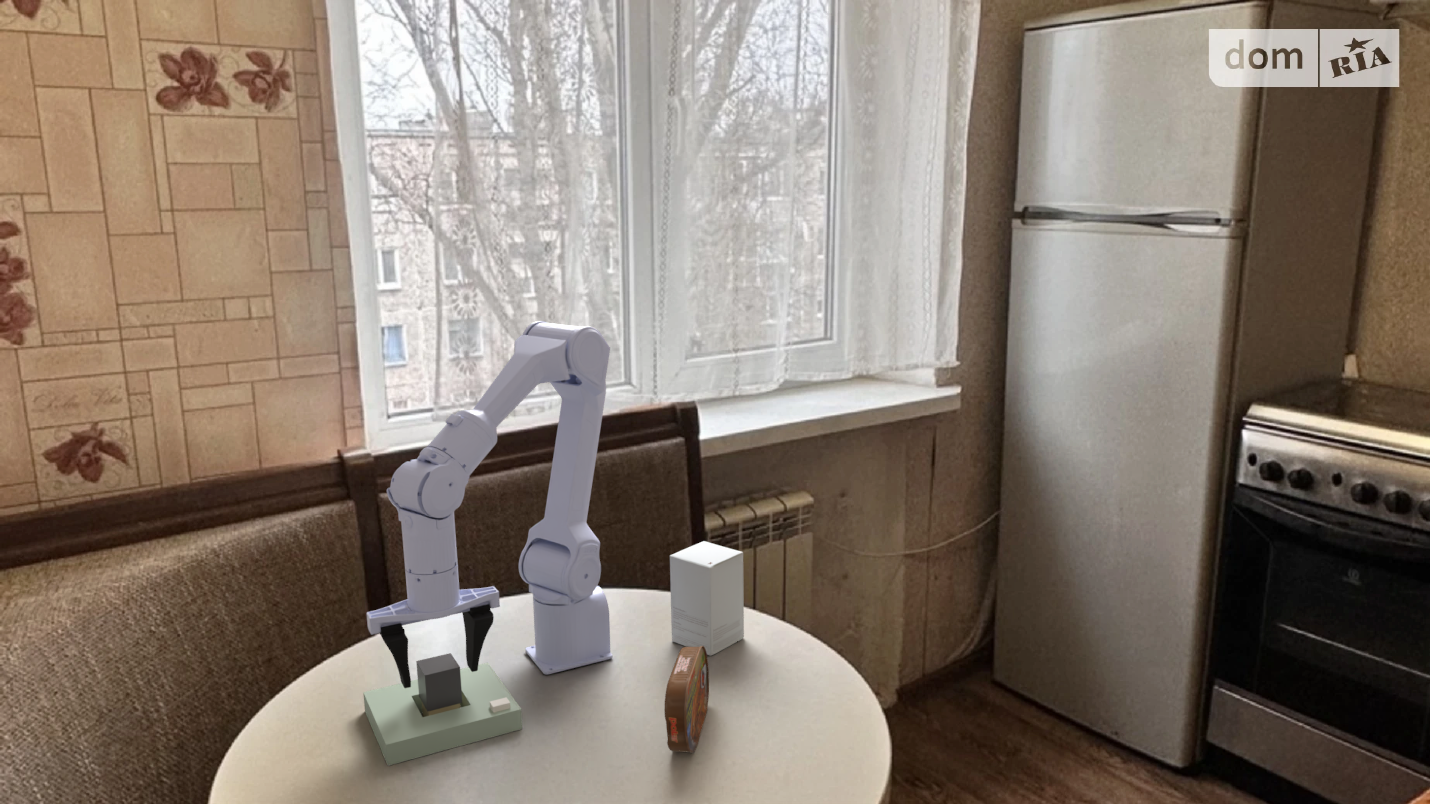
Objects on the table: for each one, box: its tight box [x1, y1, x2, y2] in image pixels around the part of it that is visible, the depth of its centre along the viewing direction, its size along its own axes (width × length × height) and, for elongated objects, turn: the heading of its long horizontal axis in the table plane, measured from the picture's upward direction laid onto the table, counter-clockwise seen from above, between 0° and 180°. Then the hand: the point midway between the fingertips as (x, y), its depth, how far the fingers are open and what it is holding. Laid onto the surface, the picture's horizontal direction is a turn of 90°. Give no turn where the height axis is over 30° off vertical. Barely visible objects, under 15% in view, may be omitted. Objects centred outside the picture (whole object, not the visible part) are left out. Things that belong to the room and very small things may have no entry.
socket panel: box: [362, 662, 523, 766], centre depth 116 cm, size 15×13×3 cm
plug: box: [416, 653, 462, 717], centre depth 116 cm, size 4×4×7 cm
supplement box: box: [669, 540, 745, 656], centre depth 135 cm, size 7×7×13 cm
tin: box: [664, 646, 710, 754], centre depth 114 cm, size 15×3×8 cm, turn 172°
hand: (439, 675), depth 115 cm, fingers open, 7 cm apart
